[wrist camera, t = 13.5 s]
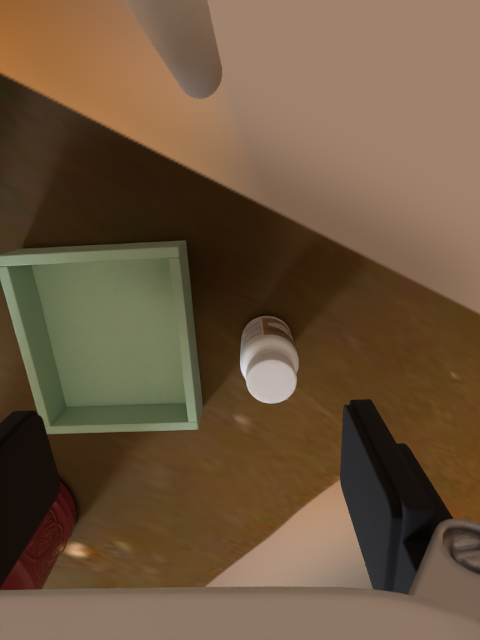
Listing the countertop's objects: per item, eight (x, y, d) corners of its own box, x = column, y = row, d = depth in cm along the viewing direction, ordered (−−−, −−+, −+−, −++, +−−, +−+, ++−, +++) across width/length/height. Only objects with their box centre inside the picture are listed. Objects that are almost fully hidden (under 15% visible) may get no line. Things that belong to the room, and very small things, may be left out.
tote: (21, 248, 30) (-7, 255, 26) (186, 240, 29) (178, 246, 26) (62, 412, 35) (43, 434, 32) (203, 407, 34) (198, 429, 31)
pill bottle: (301, 338, 32) (317, 382, 24) (265, 369, 33) (270, 421, 26) (267, 304, 31) (273, 339, 23) (230, 337, 32) (225, 381, 25)
